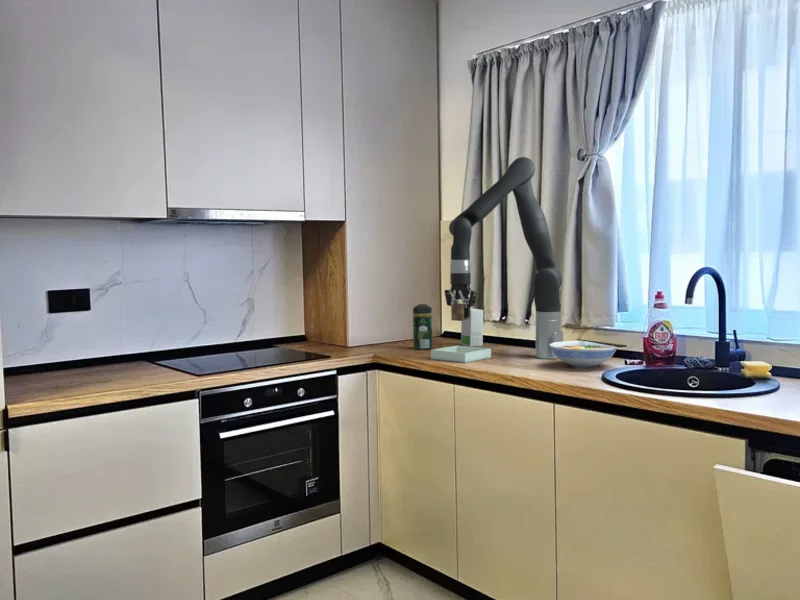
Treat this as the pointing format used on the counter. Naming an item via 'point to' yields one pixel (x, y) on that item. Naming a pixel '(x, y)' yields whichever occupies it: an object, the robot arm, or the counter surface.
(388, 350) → the counter surface
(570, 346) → the ramen bowl
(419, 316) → the coffee jar
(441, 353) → the sage tray
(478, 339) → the skincare box
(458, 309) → the walnut block
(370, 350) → the counter surface
